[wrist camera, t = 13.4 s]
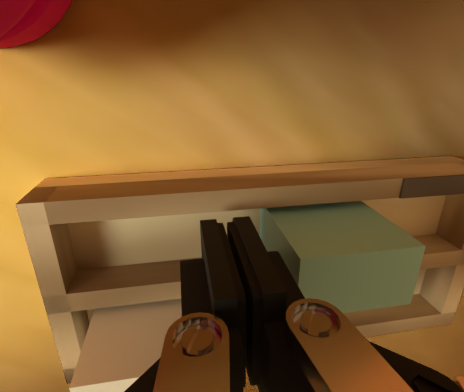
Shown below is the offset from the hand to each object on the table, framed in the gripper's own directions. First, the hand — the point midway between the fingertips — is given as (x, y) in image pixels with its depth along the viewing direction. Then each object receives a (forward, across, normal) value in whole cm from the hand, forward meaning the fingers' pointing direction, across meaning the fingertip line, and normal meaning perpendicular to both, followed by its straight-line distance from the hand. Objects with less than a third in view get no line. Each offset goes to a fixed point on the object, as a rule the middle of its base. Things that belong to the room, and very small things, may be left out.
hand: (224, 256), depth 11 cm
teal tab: (+2, -4, 0) cm, 5 cm away
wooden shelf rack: (+4, -2, +2) cm, 5 cm away
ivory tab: (+2, +3, +4) cm, 5 cm away
